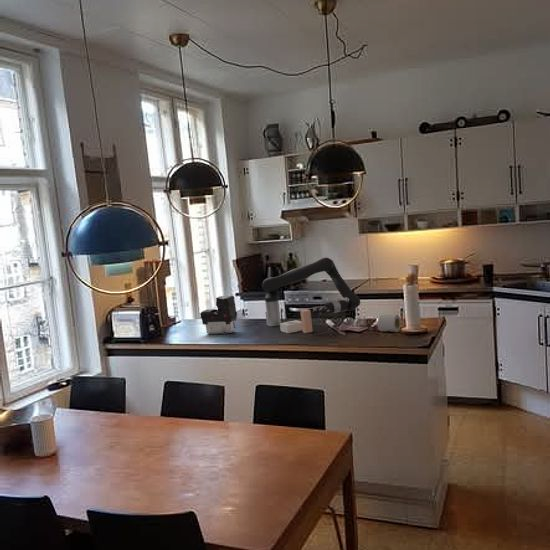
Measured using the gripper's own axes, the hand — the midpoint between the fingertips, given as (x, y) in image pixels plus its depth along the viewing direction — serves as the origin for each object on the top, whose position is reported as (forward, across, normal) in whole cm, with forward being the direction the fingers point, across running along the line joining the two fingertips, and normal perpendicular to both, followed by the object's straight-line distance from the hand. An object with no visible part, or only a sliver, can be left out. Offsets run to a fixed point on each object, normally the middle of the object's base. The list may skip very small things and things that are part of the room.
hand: (310, 312), depth 348 cm
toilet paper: (-33, +37, +14) cm, 51 cm away
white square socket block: (+8, -12, +13) cm, 20 cm away
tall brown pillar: (+3, 0, +13) cm, 13 cm away
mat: (+3, 0, +13) cm, 14 cm away
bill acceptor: (+43, -50, +13) cm, 68 cm away
